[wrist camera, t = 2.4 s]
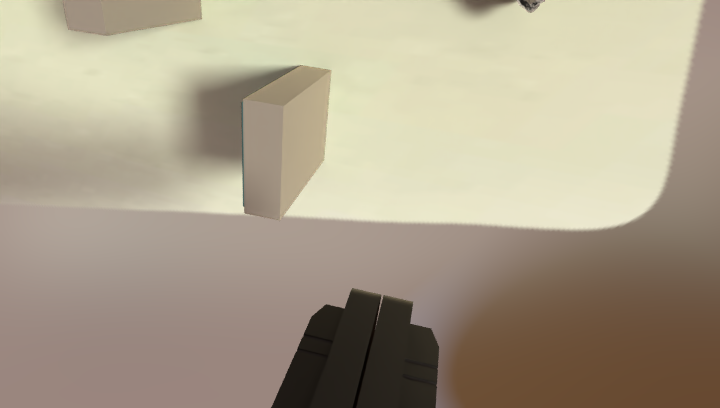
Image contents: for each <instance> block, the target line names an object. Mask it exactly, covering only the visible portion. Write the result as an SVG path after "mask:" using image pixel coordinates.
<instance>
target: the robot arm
mask: <svg viewBox="0 0 720 408" xmlns="http://www.w3.org/2000/svg"><path fill="white" fill-rule="evenodd" d="M380 300H381V295H380V294H376V293H371V292H366V291H363V290H358V289H354V288H352V290H351V292H350V295H349V298H348V301H347V303H346V307H345V309H343V308H340V307H335V306H331V305H325V306H324V307H323V308H321V309H320V310H319V311H318V312H317V313H315V314H314V315H313V316H312V317H311V319H310V321H309V324H308V326H307V328H306V330H305V333H304V336H303V338H302V339H301V342H300V344H299V346H298V349H297V352H296V353H295V355H294V358H293V360H292V362H291V364H290V367H289V369H288V371H287V373H286V376H285V378H284V381H283V383H282V385H281V387H280V389H279V392H278V394H277V396H276V399H275V401H274V403H273V405H272V407H271V408H435V406H436V389H437V386H436V384H437V373H438V370H437V368H438V356H439V346H438V344H437V341H436V339H435V337H434V334H433V332H432V330H431V329H430V328H426V327H422V326H417V325H413V324H410V320H411V313H412V306H413V302H411V301H406V300H403V299H398V298H393V297H390V296H385V295H384V296H383V300H382V304H381V308H380V313H379V316H378V311H379V305H380ZM377 317H378V321H377ZM376 322H377V325H376ZM375 328H376V329H375Z"/></svg>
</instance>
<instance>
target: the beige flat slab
mask: <svg viewBox="0 0 720 408" xmlns="http://www.w3.org/2000/svg"><path fill="white" fill-rule="evenodd" d="M63 5H64V10H65V15H66V20H67V26H68V29H69V30H75V31H81V32H87V33H94V34H100V35H106V36H107V35H113V34H118V33H124V32H130V31H135V30H141V29H147V28H153V27H158V26H164V25H170V24H175V23H181V22H187V21H192V20H198V19H202V13H201V0H63Z"/></svg>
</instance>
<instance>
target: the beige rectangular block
mask: <svg viewBox="0 0 720 408" xmlns="http://www.w3.org/2000/svg"><path fill="white" fill-rule="evenodd" d="M330 80H331V70H327V69H321V68H315V67H309V66H303V65H301V66H299V67H297V68H296V69H294V70H292V71H290V72H289V73H287V74H285V75H284V76H282V77H280V78H278V79H277V80H275V81H273V82H271V83H270V84H268V85H266V86H265V87H263V88H261V89H259V90H258V91H256V92H254V93H252V94H251V95H249V96H247V97H245V98H244V99H243V102H242V166H243V207H244V213H245V214H250V215H255V216H260V217H265V218H270V219H274V220H281V218H282V217H283V216H284V214H285V213H286V212H287V210H288V209H289V207H290V206H291V205H292V203H293V202H294V201H295V199H296V198H297V197H298V195H299V194H300V192H301V191H302V190H303V188H304V187H305V186H306V184H307V183H308V181H309V180H310V179H311V177H312V176H313V175H314V173H315V172H316V170H317V169H318V168H319V166H320V165H321V164H322V162H323V161H324V154H325V142H326V129H327V117H328V105H329V93H330Z"/></svg>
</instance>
